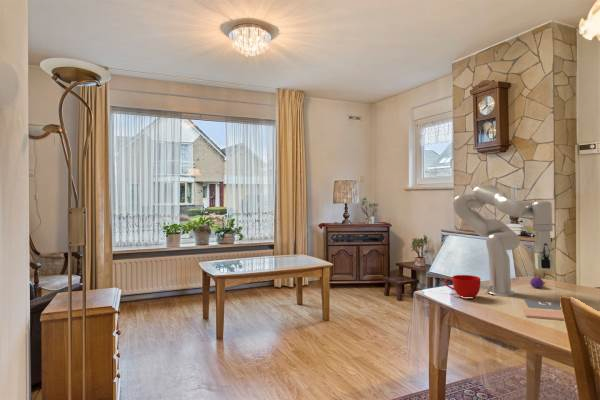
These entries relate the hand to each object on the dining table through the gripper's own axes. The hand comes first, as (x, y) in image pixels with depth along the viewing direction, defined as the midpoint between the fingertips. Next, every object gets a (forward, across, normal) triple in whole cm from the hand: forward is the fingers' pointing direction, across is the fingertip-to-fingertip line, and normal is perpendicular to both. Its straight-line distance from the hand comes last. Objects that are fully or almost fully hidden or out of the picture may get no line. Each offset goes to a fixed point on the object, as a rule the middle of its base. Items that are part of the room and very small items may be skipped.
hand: (544, 266), depth 166 cm
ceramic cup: (+18, -4, -35) cm, 39 cm away
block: (+1, 0, 0) cm, 1 cm away
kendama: (+18, -41, +4) cm, 45 cm away
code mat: (+18, +1, 0) cm, 18 cm away
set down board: (+18, +17, -4) cm, 25 cm away
